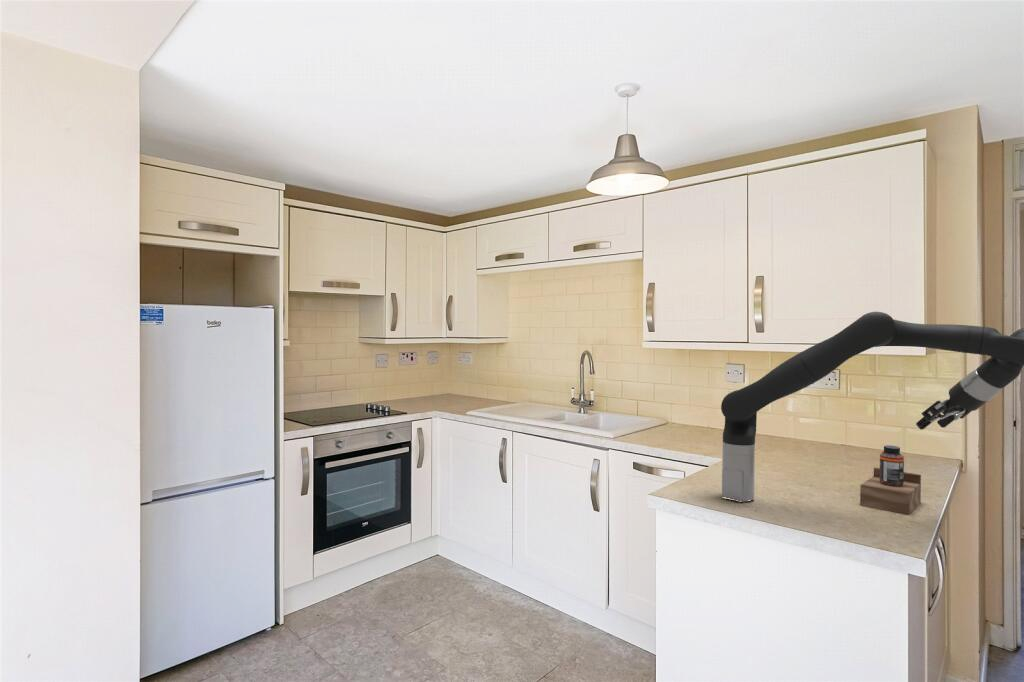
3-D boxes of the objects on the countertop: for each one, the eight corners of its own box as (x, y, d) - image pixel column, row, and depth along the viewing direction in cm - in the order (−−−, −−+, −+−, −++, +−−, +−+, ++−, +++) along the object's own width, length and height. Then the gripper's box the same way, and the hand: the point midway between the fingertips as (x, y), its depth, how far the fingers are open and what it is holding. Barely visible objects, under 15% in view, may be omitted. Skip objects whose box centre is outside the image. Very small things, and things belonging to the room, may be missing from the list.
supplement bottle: (880, 480, 169) (881, 443, 169) (904, 483, 166) (905, 446, 165) (878, 484, 165) (878, 446, 165) (902, 488, 161) (903, 449, 161)
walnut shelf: (908, 514, 156) (909, 484, 156) (860, 505, 164) (860, 476, 164) (920, 502, 167) (921, 474, 167) (874, 494, 175) (874, 467, 175)
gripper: (982, 377, 149) (937, 414, 160) (946, 379, 144) (902, 416, 155) (1005, 399, 144) (956, 435, 155) (968, 401, 139) (921, 438, 150)
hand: (929, 425), depth 155 cm, fingers open, 8 cm apart
